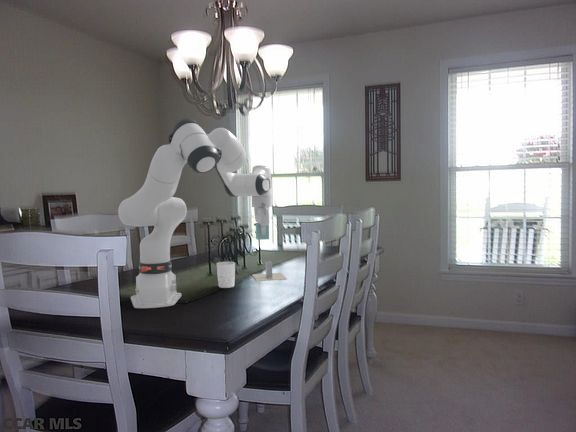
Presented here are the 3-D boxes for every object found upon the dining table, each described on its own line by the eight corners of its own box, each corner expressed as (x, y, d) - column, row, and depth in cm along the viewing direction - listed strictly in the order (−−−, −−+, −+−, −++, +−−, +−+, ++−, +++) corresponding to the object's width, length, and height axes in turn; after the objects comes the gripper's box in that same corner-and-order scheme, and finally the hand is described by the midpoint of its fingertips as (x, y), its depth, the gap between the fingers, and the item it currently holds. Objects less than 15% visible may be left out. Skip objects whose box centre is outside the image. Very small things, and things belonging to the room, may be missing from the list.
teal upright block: (269, 239, 202) (268, 224, 202) (257, 239, 201) (257, 224, 201) (267, 237, 207) (267, 223, 207) (255, 238, 206) (255, 223, 206)
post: (287, 279, 209) (286, 263, 209) (256, 281, 206) (256, 265, 206) (280, 273, 223) (280, 259, 222) (252, 275, 220) (251, 260, 219)
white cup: (232, 288, 192) (231, 265, 191) (214, 288, 193) (213, 264, 193) (238, 284, 199) (237, 261, 199) (220, 284, 201) (220, 261, 200)
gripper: (272, 203, 193) (272, 236, 194) (265, 201, 213) (266, 231, 214) (257, 204, 192) (258, 237, 193) (252, 202, 212) (252, 231, 213)
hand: (262, 234), depth 204 cm, fingers closed on teal upright block, 5 cm apart
